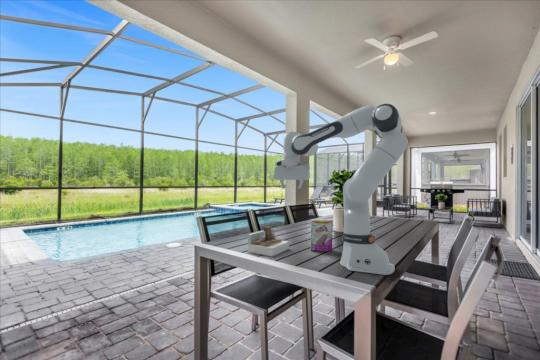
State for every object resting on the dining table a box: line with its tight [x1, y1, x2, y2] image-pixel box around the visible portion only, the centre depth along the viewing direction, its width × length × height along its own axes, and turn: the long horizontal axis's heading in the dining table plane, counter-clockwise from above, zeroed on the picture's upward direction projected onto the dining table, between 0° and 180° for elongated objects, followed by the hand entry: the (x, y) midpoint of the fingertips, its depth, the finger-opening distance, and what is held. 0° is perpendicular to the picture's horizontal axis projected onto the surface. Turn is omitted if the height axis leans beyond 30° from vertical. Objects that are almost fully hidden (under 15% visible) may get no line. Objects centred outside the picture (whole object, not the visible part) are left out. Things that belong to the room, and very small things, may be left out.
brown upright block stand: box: [253, 225, 282, 247], centre depth 141 cm, size 9×14×8 cm, turn 145°
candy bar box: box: [310, 218, 334, 253], centre depth 141 cm, size 11×5×16 cm, turn 84°
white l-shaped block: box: [247, 230, 290, 257], centre depth 140 cm, size 15×17×9 cm
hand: (291, 188), depth 142 cm, fingers open, 8 cm apart
